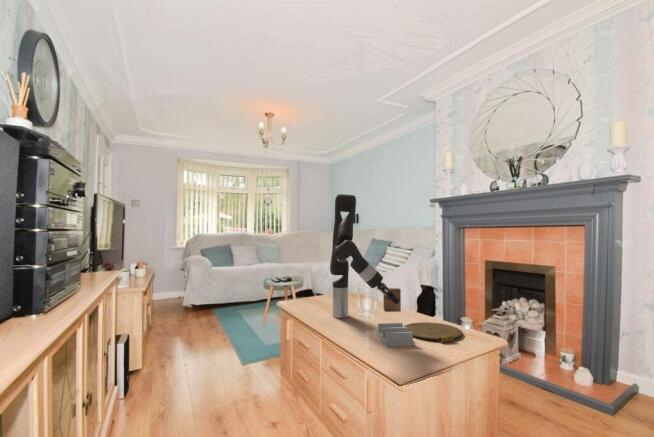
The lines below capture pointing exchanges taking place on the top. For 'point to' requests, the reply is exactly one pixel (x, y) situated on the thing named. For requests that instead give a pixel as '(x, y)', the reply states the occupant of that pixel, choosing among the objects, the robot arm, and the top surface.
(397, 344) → the rack
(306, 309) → the top surface
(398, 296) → the brown rectangular block
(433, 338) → the decorative disc
